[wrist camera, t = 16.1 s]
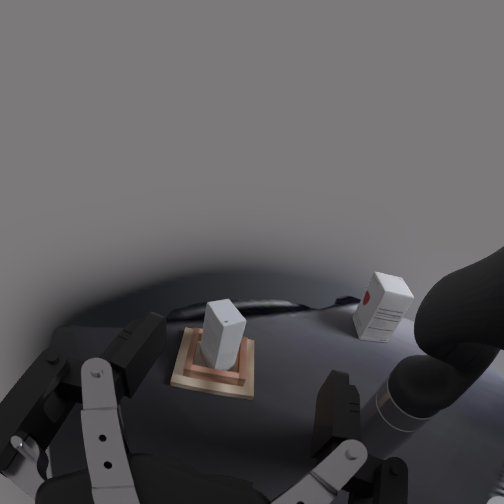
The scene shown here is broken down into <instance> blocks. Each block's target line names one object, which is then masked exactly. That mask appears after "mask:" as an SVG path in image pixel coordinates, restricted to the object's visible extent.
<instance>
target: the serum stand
mask: <svg viewBox="0 0 504 504" xmlns="http://www.w3.org/2000/svg"><path fill="white" fill-rule="evenodd" d="M202 332H203V329H199V328H194V329H190V328H185V331H184V335H183V338H182V342H181V345H180V349H179V352H178V356H177V360H176V363H175V367H174V371H173V375H172V378H171V386H175V387H179V388H184V389H189V390H194V391H199V392H204V393H210V394H215V395H221V396H228V397H235V398H242V399H249V400H252V399H253V397H254V340H249V339H247V337H242V339H241V343H240V346H239V350H238V353H237V357H236V361H235V364H234V368H233V369H232V370H228V371H224V370H218V369H213V368H209V367H208V365H207V364H206V362H205V360H204V359H203V357H202V355H201V354H200V345H201V339H202Z"/></svg>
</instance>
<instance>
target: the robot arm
mask: <svg viewBox="0 0 504 504" xmlns="http://www.w3.org/2000/svg"><path fill="white" fill-rule="evenodd" d="M414 335H415V340H416V343H417V344H418V346H419V348H420V349H421V350H422V351H424V352H425V353H426V354H427V355H414V356H409V357H407V358H405V359H403V360H402V361H400V362H399V363H398V365H397V366H396V367H395V368H394V370H393V371H392V372H391V374H390V375H389V377H388V378H387V379H386V380H385V382H384V383H383V384H382V385H381V387H380V388H379V389H378V390H377V392H376V393H375V394H374V395H373V396H372V398H371V399H370V400H369V401H368V402H367V403H366V405H365V406H364V407H363V408H362V409H361V410H360V406H359V405H360V396H359V393H358V391H357V389H356V387H355V386H354V385H349V374H348V373H345V372H340V371H336V370H332V371H331V373H330V374H329V376H328V377H327V379H326V380H325V382H324V384H323V385H322V387H321V388H320V390H319V392H318V396H317V401H316V412H315V422H314V431H313V440H312V449H311V457H310V458H317V459H318V460H317V465H316V466H315V467H314V468H312V469H311V470H310V471H309V472H308V473H307V474H305V475H304V476H303V477H302V478H301V479H299V480H298V481H297V482H296V483H294V484H293V485H292V486H291V487H289V488H288V489H287V490H285V491H284V492H283V493H281V494H280V495H278V496H277V497H276V498H274V499H273V500H272V501H269V499H267V498H266V497H265V496H264V495H263V494H262V493H261V492H259V491H258V490H256V489H254V488H252V484H253V482H249V481H245V480H241V479H237V478H234V477H230V476H220V475H209V474H202V473H199V472H197V471H196V470H194V469H193V468H191V467H189V466H188V465H186V464H185V463H183V462H182V461H180V460H179V459H176V458H174V457H171V456H169V455H166V454H164V453H162V452H159V451H157V450H155V451H154V453H153V454H148V453H134V454H132V453H131V449H130V446H129V442H128V439H127V435H126V430H125V426H124V421H123V416H122V411H121V405H120V400H121V399H122V397H123V396H126V397H128V398H130V399H131V397H132V396H133V394H134V393H135V391H136V390H137V388H138V387H139V385H140V384H141V382H142V381H143V379H144V378H145V376H146V375H147V373H148V372H149V370H150V368H151V367H152V365H153V364H154V362H155V361H156V359H157V358H158V356H159V355H160V353H161V352H162V350H163V348H164V346H165V342H166V317H163V316H161V315H158V314H156V313H153V312H150V313H149V314H148V315H147V317H146V318H145V319H144V320H142V319H140V318H137V319H135V320H133V321H132V322H130V323H129V324H128V325H127V326H126V327H125V328H124V329H123V331H122V332H121V333H120V334H119V335H118V337H116V339H115V340H114V341H113V342H112V343H111V344H110V346H109V347H108V348H107V349H106V350H105V351H104V353H103V354H102V355H101V356H100V357H99V358H92V359H89V360H87V361H86V362H82V361H77V360H73V359H69V358H67V356H66V354H65V352H64V351H63V350H62V349H60V348H56V347H51V348H48V349H46V350H44V351H43V352H42V353H41V354H40V355H39V357H38V358H37V359H36V360H35V361H34V362H33V363H32V365H31V366H30V367H29V368H28V370H27V371H26V372H25V373H24V374H23V376H22V377H21V378H20V379H19V380H18V381H17V383H16V384H15V385H14V387H13V388H12V389H11V390H10V392H9V393H8V394H7V395H6V397H5V398H4V399H3V401H2V402H1V403H0V473H1V474H2V475H4V476H5V477H7V478H9V479H10V480H11V481H12V482H13V483H15V484H16V485H17V486H18V487H19V488H21V489H22V490H23V491H24V492H26V493H27V494H28V495H30V496H31V497H32V498H34V499H35V504H329V503H330V502H331V501H332V500H333V499H334V498H335V497H336V496H337V492H338V491H339V490H340V489H342V490H345V491H347V492H349V499H348V504H407V497H408V468H407V465H406V463H405V462H404V461H403V460H402V459H400V458H398V457H391V458H388V459H387V460H383V459H385V458H386V457H387V456H389V455H390V454H391V453H393V452H394V451H395V450H396V449H398V448H399V447H400V446H401V445H403V444H404V443H405V442H406V441H408V440H409V439H410V438H411V437H412V436H413V435H414V434H415V433H416V432H417V431H419V430H420V429H421V428H422V427H423V426H424V425H425V424H426V423H427V422H428V421H429V420H431V419H432V418H433V417H434V416H435V415H436V414H437V413H438V412H439V411H440V410H442V409H445V408H447V407H449V406H450V405H452V404H453V403H454V402H455V401H456V400H457V399H458V398H459V397H460V396H461V395H462V394H463V393H464V392H465V391H466V390H467V389H468V388H469V387H470V386H471V385H472V384H473V383H474V382H475V381H476V380H477V379H478V378H479V377H480V376H481V375H482V374H483V373H484V371H485V370H486V369H487V368H488V367H489V366H490V364H491V363H492V362H493V360H494V359H495V357H496V356H497V354H498V353H499V351H500V349H502V350H504V247H502V248H501V249H499V250H498V251H497V252H495V253H493V254H492V255H490V256H488V257H486V258H484V259H482V260H480V261H478V262H476V263H474V264H472V265H469V266H467V267H464V268H462V269H460V270H457V271H455V272H452V273H450V274H448V275H447V276H445V277H443V278H442V279H441V280H440V281H438V282H437V283H436V284H435V285H434V286H433V287H432V289H431V290H430V291H429V292H428V294H427V295H426V296H425V298H424V299H423V301H422V303H421V305H420V307H419V309H418V311H417V314H416V318H415V323H414ZM76 402H77V403H81V404H83V409H82V410H81V420H82V430H83V437H84V445H85V451H86V457H87V463H88V468H86V469H83V470H79V471H76V472H72V473H69V474H65V475H61V476H57V477H53V478H50V479H47V475H46V470H47V467H48V463H49V460H48V456H47V454H46V453H45V450H46V449H47V447H48V446H49V444H50V442H51V441H52V439H53V438H54V436H55V434H56V433H57V431H58V430H59V428H60V426H61V425H62V423H63V422H64V420H65V419H66V417H67V416H68V414H69V413H70V411H71V409H72V408H73V406H74V405H75V403H76Z"/></svg>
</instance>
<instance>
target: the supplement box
mask: <svg viewBox="0 0 504 504" xmlns="http://www.w3.org/2000/svg"><path fill="white" fill-rule="evenodd" d="M413 299H414V296H413V295H412V293H411V292H410V290H409V288H408V287H407V285H406V284H405V282H404V281H403V279H402V278H400V277H395V276H391V275H387V274H383V273H380V272H374V274H373V276H372V278H371V281H370V283H369V285H368V287H367V289H366V291H365V293H364V295H363V297H362V299H361V301H360V304H359V306H358V308H357V310H356V312H355V313H354V315H353V317H352V318H353V321H354V325H355V328H356V331H357V334H358V337H359V339H360V340H368V341H375V342H384V343H387V342H388V340H389V339H390V337H391V336H392V334H393V333H394V331H395V329H396V328H397V326H398V324H399V323H400V321H401V319H402V318H403V316H404V314H405V313H406V311H407V309H408V308H409V306H410V304H411V302H412V300H413Z"/></svg>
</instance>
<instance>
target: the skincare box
mask: <svg viewBox="0 0 504 504" xmlns="http://www.w3.org/2000/svg"><path fill="white" fill-rule="evenodd" d="M245 324H246V320H245V318H244V317H243V316H242V315H241V314H240V312H239V311H238V310H237V309H236V307H235V306H234V305H233V304H232V302H231V301H230V300H229V299H225V300H220V301H213V302H207V307H206V313H205V319H204V326H203V332H202V339H201V345H200V354H201V355H202V357H203V359H204V360H205V362H206V364H207V365H208V367H209V368H213V369H218V370H224V371H228V370H232V369H233V368H234V364H235V361H236V357H237V353H238V350H239V346H240V343H241V339H242V335H243V332H244V328H245Z"/></svg>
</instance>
